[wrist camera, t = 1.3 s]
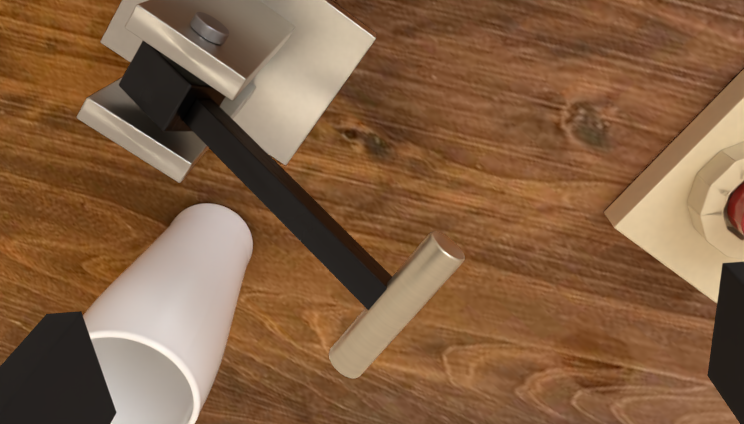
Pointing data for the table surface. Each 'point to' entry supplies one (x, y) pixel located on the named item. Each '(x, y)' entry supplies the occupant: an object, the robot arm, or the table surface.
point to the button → (737, 209)
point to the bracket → (232, 70)
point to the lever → (296, 210)
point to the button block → (691, 196)
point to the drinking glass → (171, 317)
